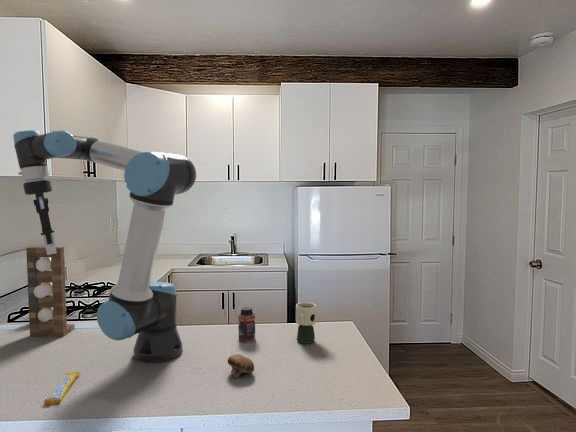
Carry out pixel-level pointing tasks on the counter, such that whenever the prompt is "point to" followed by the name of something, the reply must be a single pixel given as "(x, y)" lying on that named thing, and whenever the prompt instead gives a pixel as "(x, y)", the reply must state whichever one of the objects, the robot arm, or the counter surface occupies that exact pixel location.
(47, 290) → the middle button
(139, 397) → the counter surface
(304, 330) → the character mug
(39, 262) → the top button
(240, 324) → the supplement bottle
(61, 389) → the candy bar
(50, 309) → the bottom button
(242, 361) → the mushroom
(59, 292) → the switch panel
